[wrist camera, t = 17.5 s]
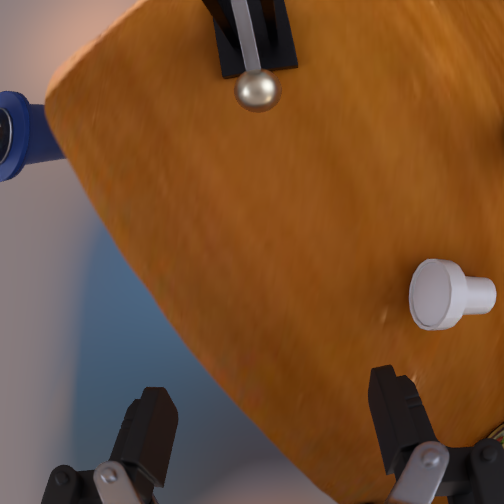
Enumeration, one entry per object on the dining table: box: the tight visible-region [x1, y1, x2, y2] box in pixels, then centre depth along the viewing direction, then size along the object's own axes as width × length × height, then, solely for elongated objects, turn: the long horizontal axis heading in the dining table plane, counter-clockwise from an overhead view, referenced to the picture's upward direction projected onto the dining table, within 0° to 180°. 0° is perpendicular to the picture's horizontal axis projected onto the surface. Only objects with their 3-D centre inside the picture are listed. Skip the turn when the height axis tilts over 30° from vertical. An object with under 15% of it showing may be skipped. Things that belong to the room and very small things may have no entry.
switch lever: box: [231, 0, 282, 113], centre depth 19 cm, size 13×4×4 cm, turn 9°
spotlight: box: [409, 259, 496, 330], centre depth 31 cm, size 8×11×8 cm
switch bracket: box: [202, 0, 298, 79], centre depth 21 cm, size 11×8×15 cm
